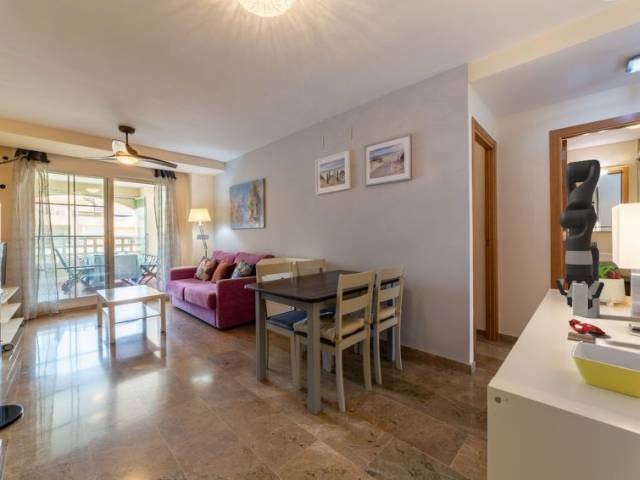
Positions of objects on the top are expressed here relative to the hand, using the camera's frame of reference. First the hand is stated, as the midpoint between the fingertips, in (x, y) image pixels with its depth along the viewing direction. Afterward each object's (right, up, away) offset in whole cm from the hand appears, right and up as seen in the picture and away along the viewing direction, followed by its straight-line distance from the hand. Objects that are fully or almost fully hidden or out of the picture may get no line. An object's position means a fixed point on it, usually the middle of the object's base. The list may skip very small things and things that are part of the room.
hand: (579, 307), depth 106 cm
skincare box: (0, -3, 0) cm, 3 cm away
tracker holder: (+9, -11, +6) cm, 16 cm away
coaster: (0, -12, 0) cm, 12 cm away
